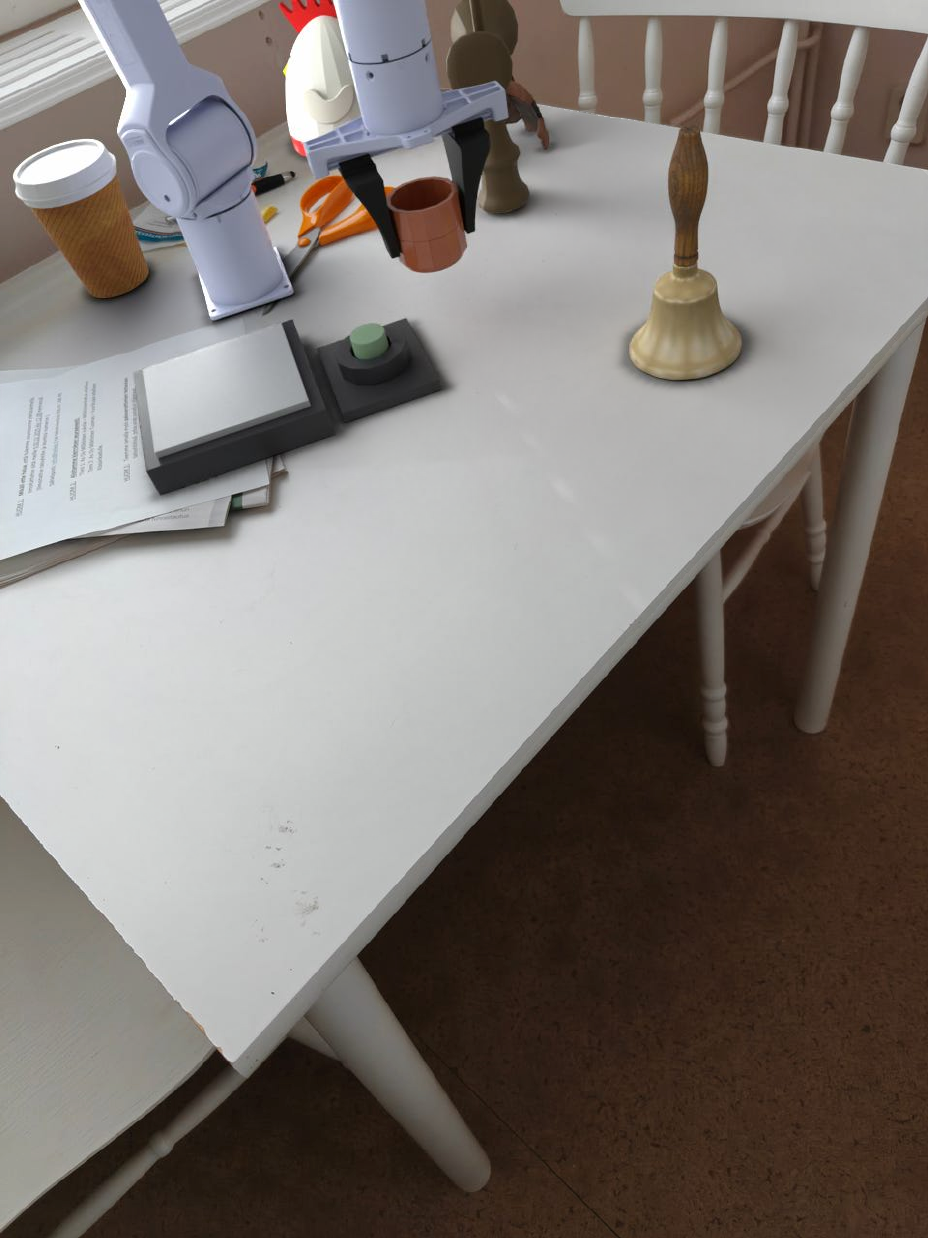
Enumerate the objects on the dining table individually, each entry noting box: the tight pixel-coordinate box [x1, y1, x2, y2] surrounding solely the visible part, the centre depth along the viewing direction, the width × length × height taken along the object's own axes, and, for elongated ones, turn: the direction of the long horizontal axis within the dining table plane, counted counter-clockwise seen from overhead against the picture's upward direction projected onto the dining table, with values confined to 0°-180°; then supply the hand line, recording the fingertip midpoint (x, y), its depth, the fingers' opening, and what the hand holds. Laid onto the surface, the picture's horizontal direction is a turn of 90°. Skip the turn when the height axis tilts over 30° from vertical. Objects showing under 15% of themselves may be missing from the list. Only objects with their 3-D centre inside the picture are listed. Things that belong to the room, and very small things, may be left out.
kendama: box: [445, 0, 530, 214], centre depth 82 cm, size 6×10×20 cm, turn 176°
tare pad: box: [316, 317, 443, 423], centre depth 74 cm, size 10×8×2 cm
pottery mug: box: [504, 74, 551, 150], centre depth 96 cm, size 12×10×8 cm
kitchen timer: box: [278, 0, 361, 158], centre depth 101 cm, size 14×14×15 cm
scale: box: [132, 318, 336, 496], centre depth 74 cm, size 14×14×3 cm
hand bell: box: [628, 124, 743, 381], centre depth 64 cm, size 8×8×16 cm
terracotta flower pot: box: [386, 175, 468, 274], centre depth 71 cm, size 5×6×5 cm
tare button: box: [349, 323, 389, 359], centre depth 73 cm, size 3×3×2 cm
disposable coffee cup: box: [12, 138, 150, 299], centre depth 89 cm, size 10×10×12 cm
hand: (429, 239), depth 72 cm, fingers closed on terracotta flower pot, 5 cm apart
